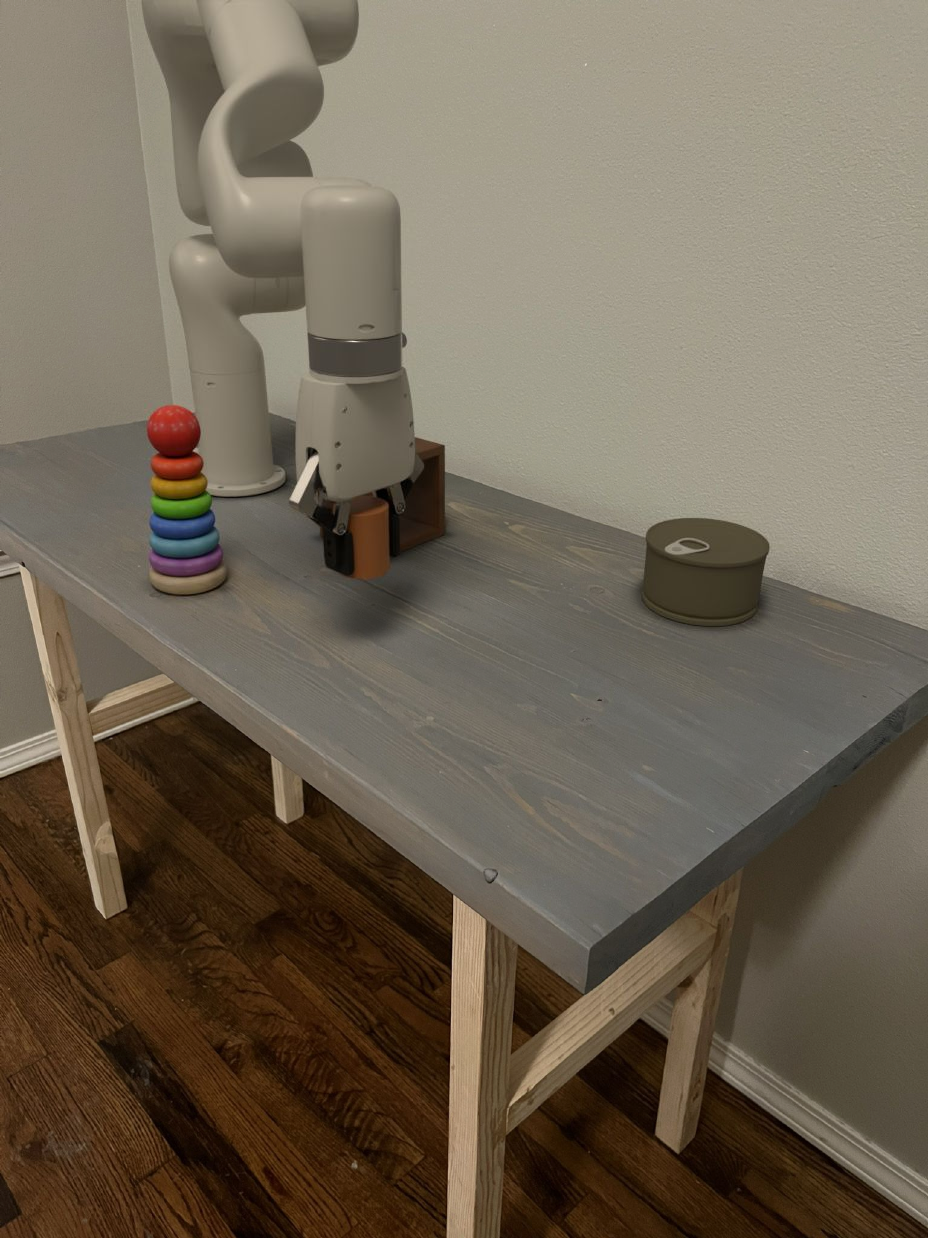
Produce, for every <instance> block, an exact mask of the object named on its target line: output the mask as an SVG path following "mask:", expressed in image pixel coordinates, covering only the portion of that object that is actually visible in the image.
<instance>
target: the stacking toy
mask: <svg viewBox="0 0 928 1238" xmlns="http://www.w3.org/2000/svg"><path fill="white" fill-rule="evenodd" d="M146 434H147V438H148V441H149V443H150V444H151V446H152V448H153V449H154V450H155V451H156V452H157V453H155V454H154V455H153V456H152V457H151V460H150V468H151V471H152V472H153V474H154V475H153V476H152V477H151V479H150V489H151V490H152V492H153V493H154V494H153V495H152V496H151V499H150V507H151V510H152V511H153V513H151V515H150V517H149V521H148V522H149V523H148V524H149V528H150V530H151V533H150V535H149V539H148V543H149V546H150V548H151V549H150V551H149V554H148V562H149V564H150V566H151V567H150V569H149V572H148V580H149V582H150V583H151V585H152V586H153V587H154V589H157V590H159V591H160V592H163V593H165V594H166V593H167V594H171V595H196V594H200V593H204V592H207V591H210V590H213V589H215V588H217V587H218V586H220V585H221V584H222V583H223V582H224V581H225V579H226V578H227V574H228V569H227V565H226V563H225V562H224V560H223V559H224V549H223V548H222V546H221V544H220V539H221V538H220V532H219V530H218V529H217V527H216V526H215V524H216V515H215V512H214V511H213V510H212V508H211V507H212V505H213V498H212V497H213V496H212V495H210V493H209V492H208V491H206V488H207V484H208V482H207V478H206V476H205V475H204V474H203V473H201V471H202V469H203V465H204V463H203V459H202V457H201V456H200V455H199V454H198V453H196V452H194V451H193V450H194V449H195V448H197V447H198V446H199V440H200V435H201V430H200V425H199V422H198V420H197V418H196V416H195V413H193V411H191V410H190V409H188V408H186V407H184V406H181V405H178V404H177V405H176V404H169V405H168V404H167V405H163V406H160V407H159V408H158V409H157V408H156V409H155V410H154V411H153V412H152V413H151V415H149V418H148V420H147V424H146Z"/></svg>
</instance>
